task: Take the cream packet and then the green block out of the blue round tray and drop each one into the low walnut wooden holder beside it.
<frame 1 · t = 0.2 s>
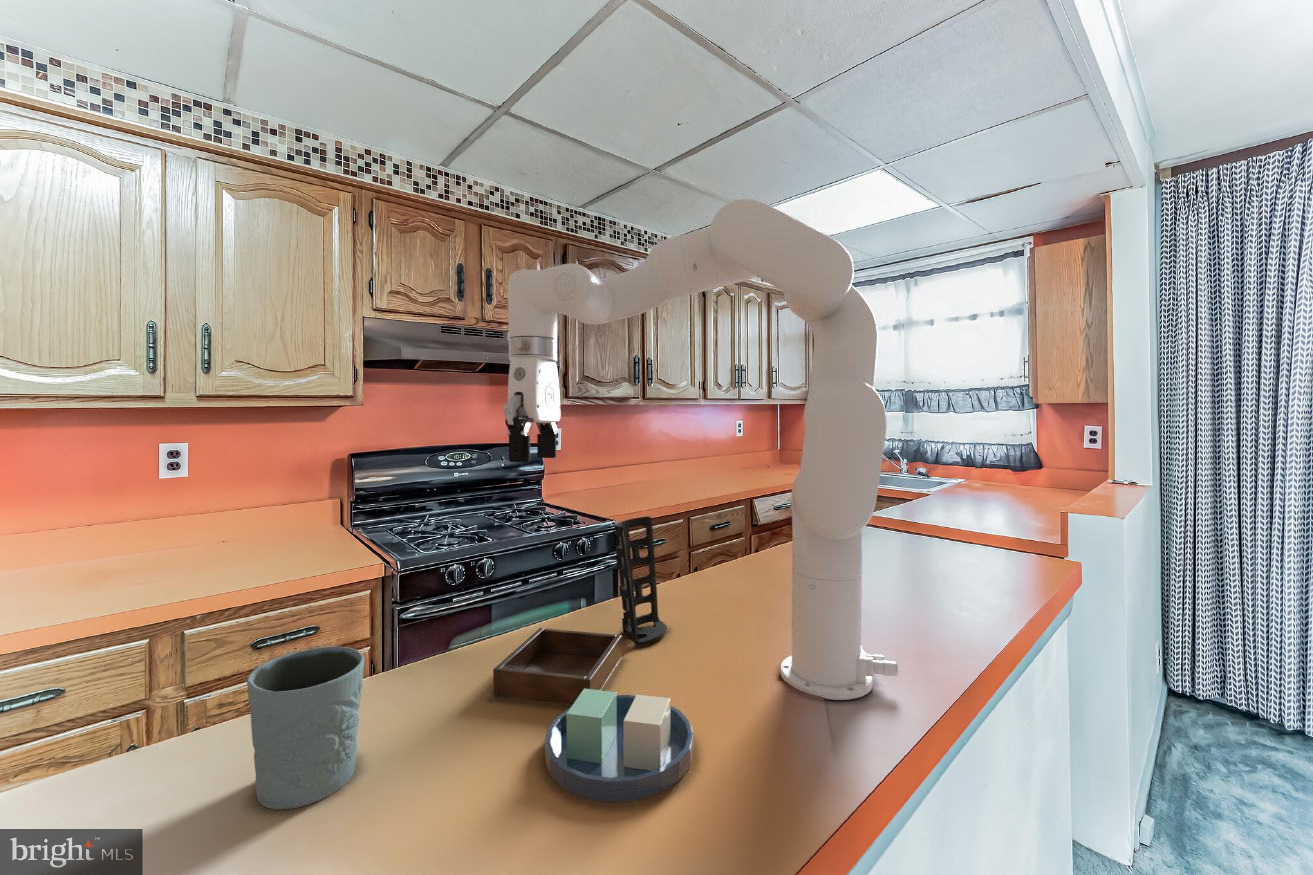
hand: (533, 459, 85), 31 cm above the countertop, tool pointing down, fingers open, 9 cm apart
grey embossed cup: (310, 782, 55), on the countertop
holder: (639, 635, 93), on the countertop
green block: (592, 745, 60), resting on blue round tray
blue round tray: (619, 753, 60), on the countertop
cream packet: (647, 753, 59), resting on blue round tray
wooden holder: (562, 678, 77), on the countertop
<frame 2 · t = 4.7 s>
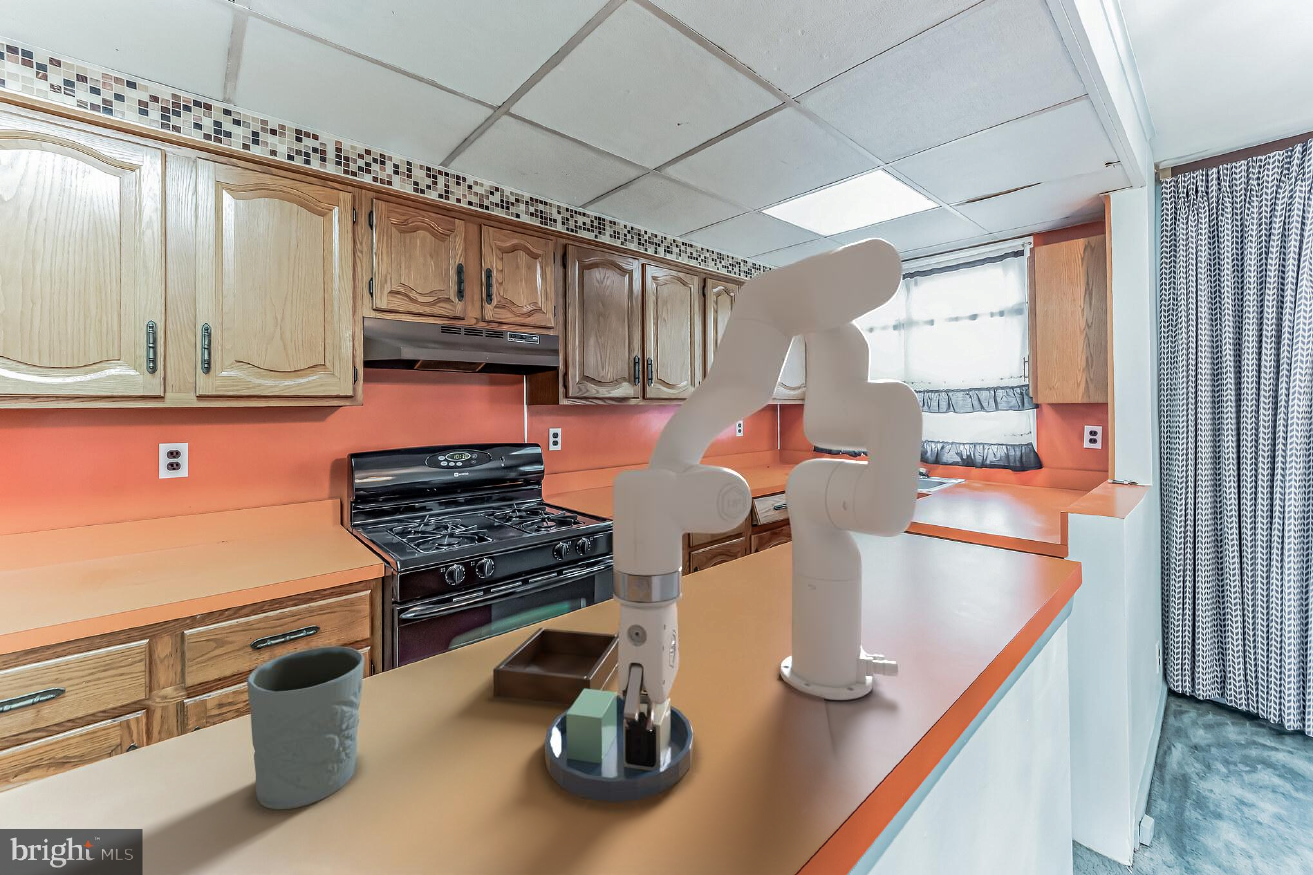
hand: (647, 744, 59), 2 cm above the countertop, tool pointing down, fingers closed on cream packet, 5 cm apart
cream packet: (647, 753, 59), point 1 cm above the countertop, touching blue round tray, gripper
everything else where it was.
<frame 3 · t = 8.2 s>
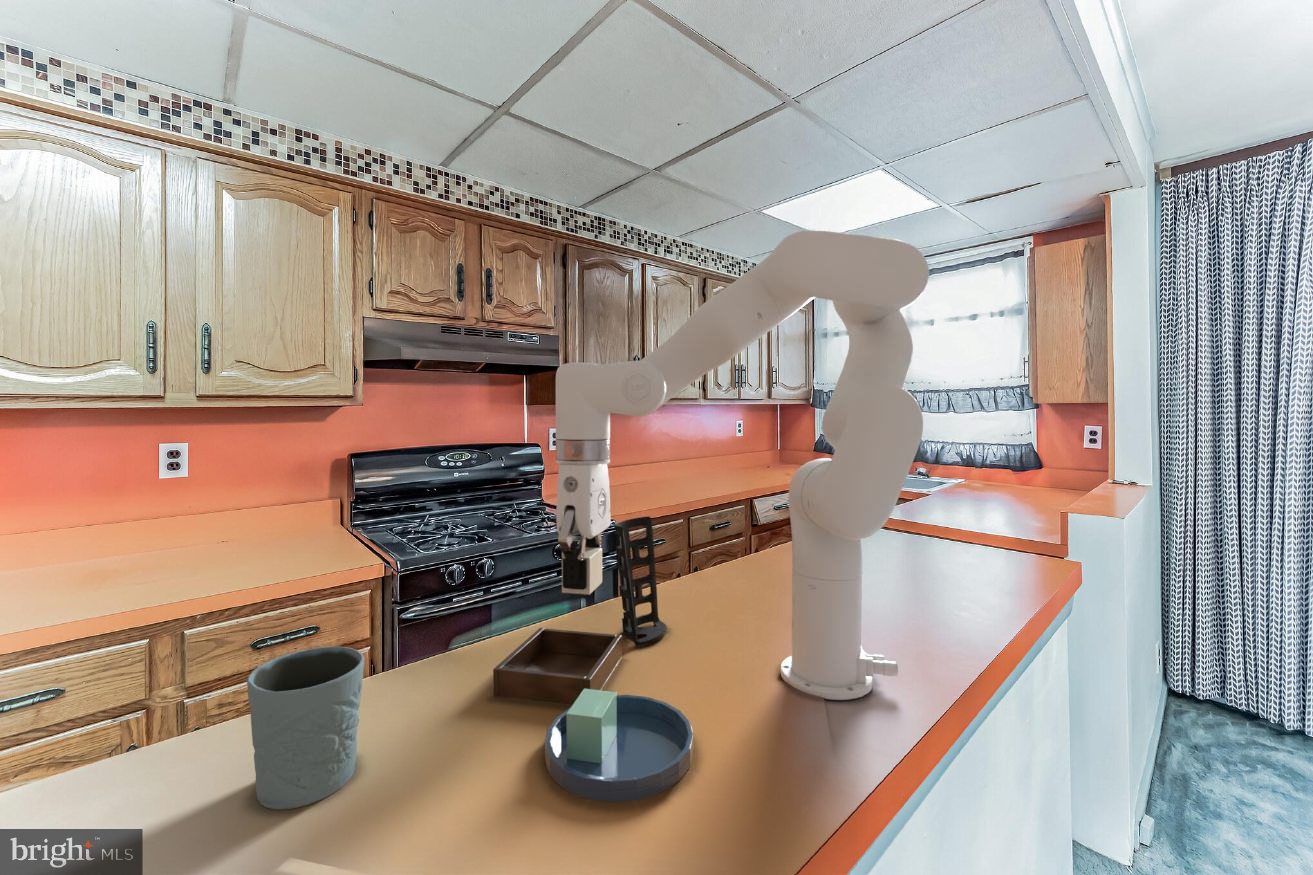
hand: (582, 580, 75), 15 cm above the countertop, tool pointing down, fingers closed on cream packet, 5 cm apart
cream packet: (582, 587, 75), point 14 cm above the countertop, touching gripper
everything else where it was.
when the fingers open (2 cm above the countertop, at t = 11.7 s): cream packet stays where it is, resting on wooden holder.
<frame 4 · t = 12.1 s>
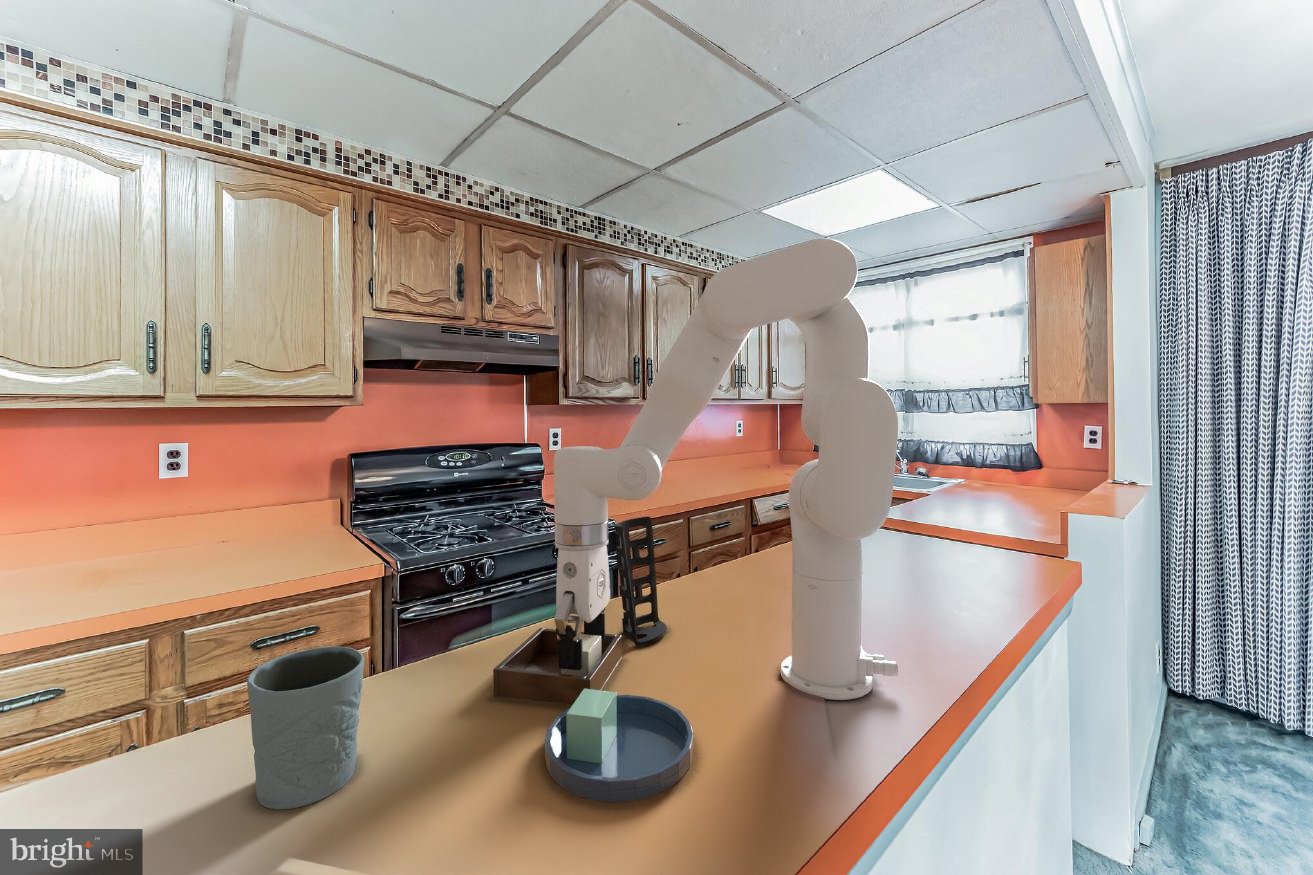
hand: (583, 652, 76), 4 cm above the countertop, tool pointing down, fingers open, 9 cm apart
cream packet: (582, 676, 76), point 1 cm above the countertop, touching wooden holder
everything else where it was.
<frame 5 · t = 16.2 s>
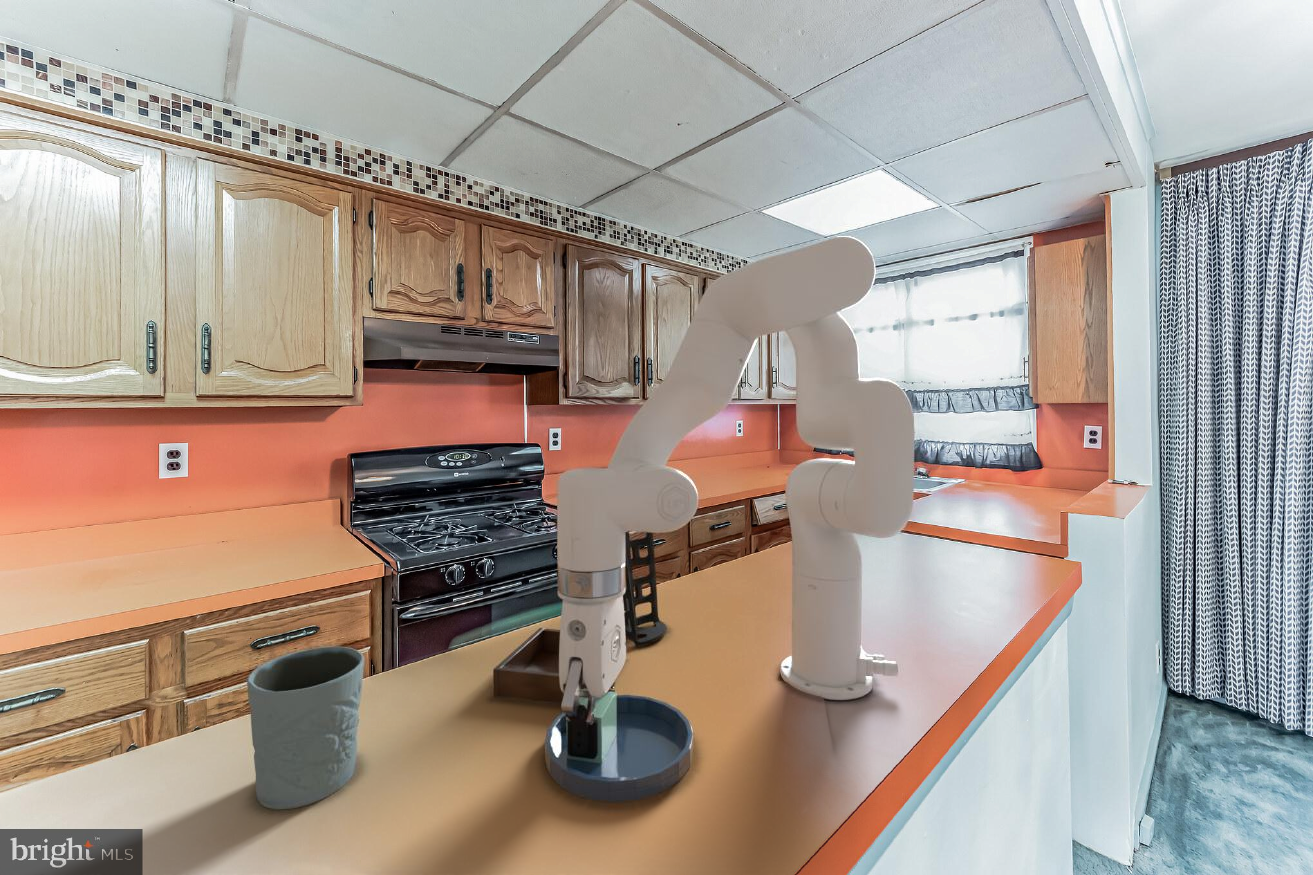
hand: (592, 736, 60), 2 cm above the countertop, tool pointing down, fingers closed on green block, 5 cm apart
green block: (592, 745, 60), point 1 cm above the countertop, touching blue round tray, gripper
everything else where it was.
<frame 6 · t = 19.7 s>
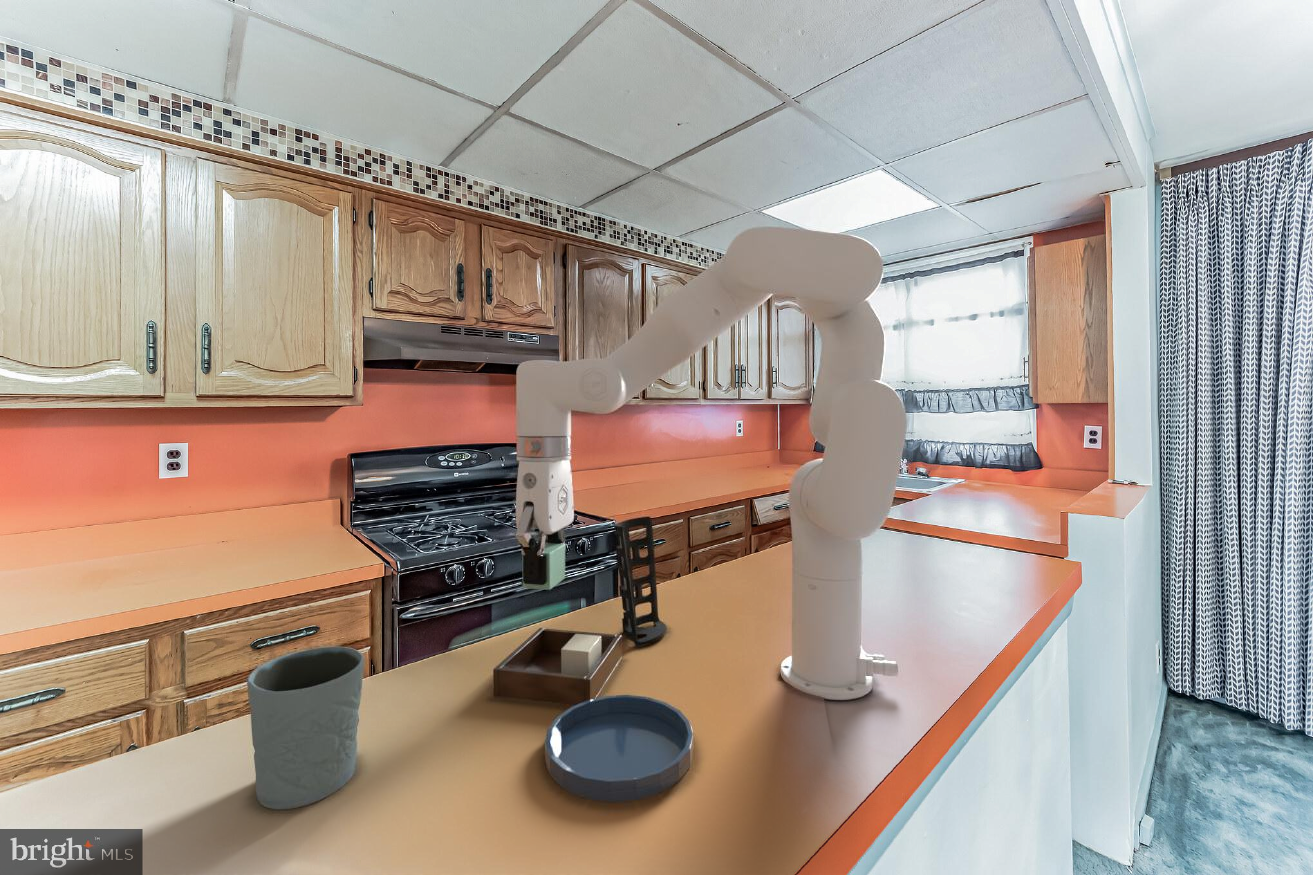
hand: (544, 575, 76), 15 cm above the countertop, tool pointing down, fingers closed on green block, 5 cm apart
green block: (544, 582, 76), point 14 cm above the countertop, touching gripper
everything else where it was.
when the fingers open (2 cm above the countertop, at t = 23.3 s): green block stays where it is, resting on wooden holder.
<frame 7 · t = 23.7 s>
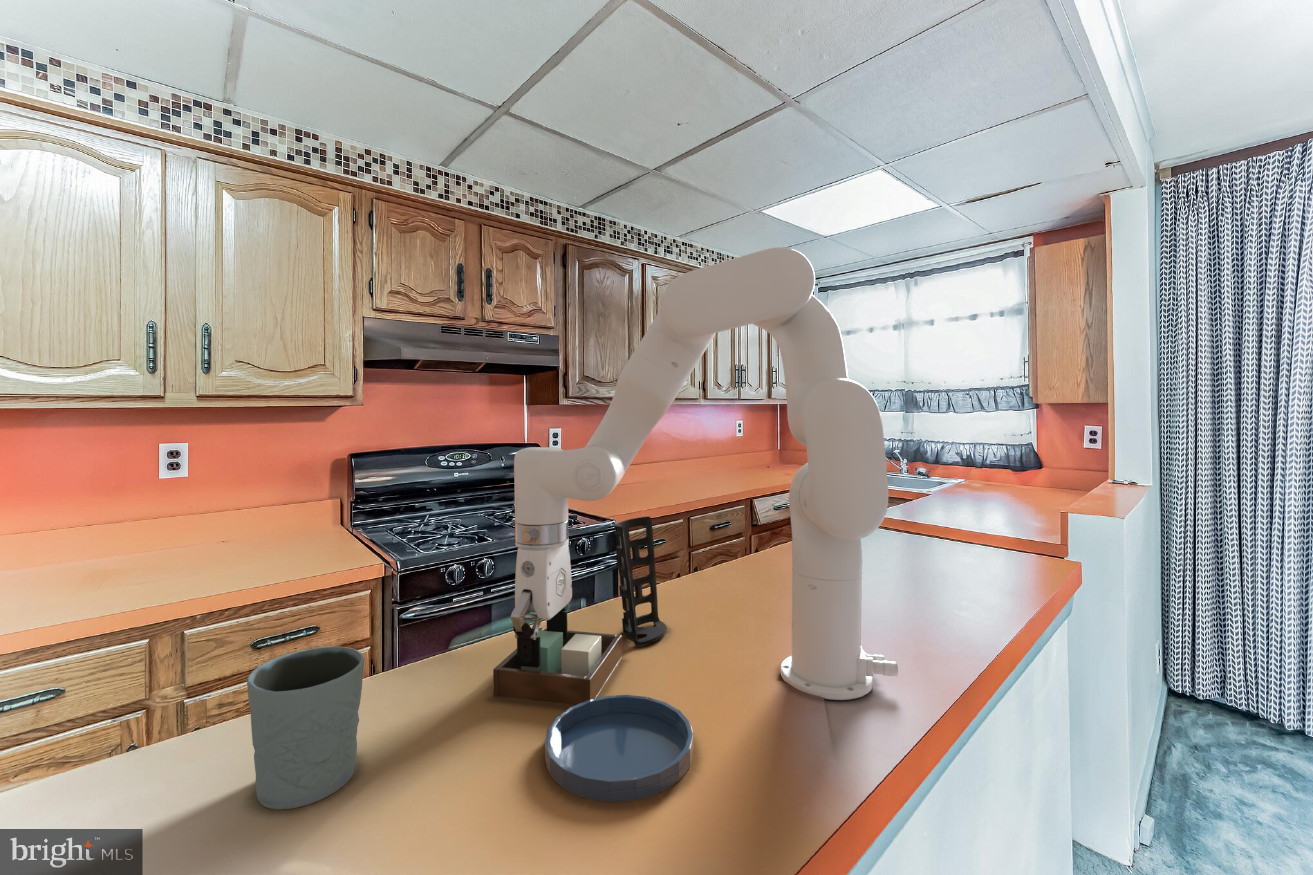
hand: (543, 650, 78), 4 cm above the countertop, tool pointing down, fingers open, 9 cm apart
green block: (542, 672, 78), point 1 cm above the countertop, touching wooden holder
everything else where it was.
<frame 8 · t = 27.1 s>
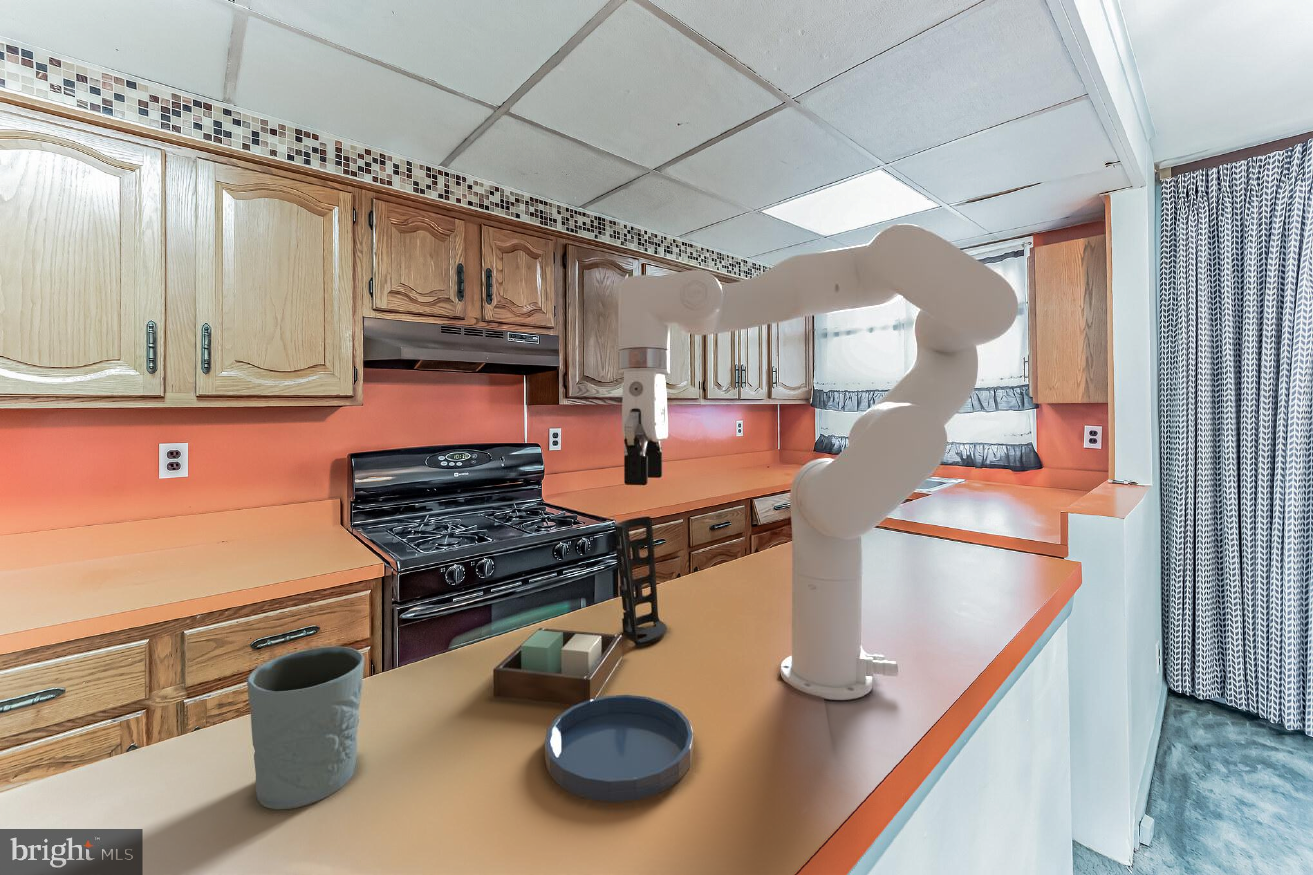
hand: (644, 480, 79), 28 cm above the countertop, tool pointing down, fingers open, 9 cm apart
nothing on the countertop moved.
at the end: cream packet inside the target area in the wooden holder (3.0 cm from its centre), point 0.6 cm above the wooden holder's base; green block inside the target area in the wooden holder (3.0 cm from its centre), point 0.6 cm above the wooden holder's base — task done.
